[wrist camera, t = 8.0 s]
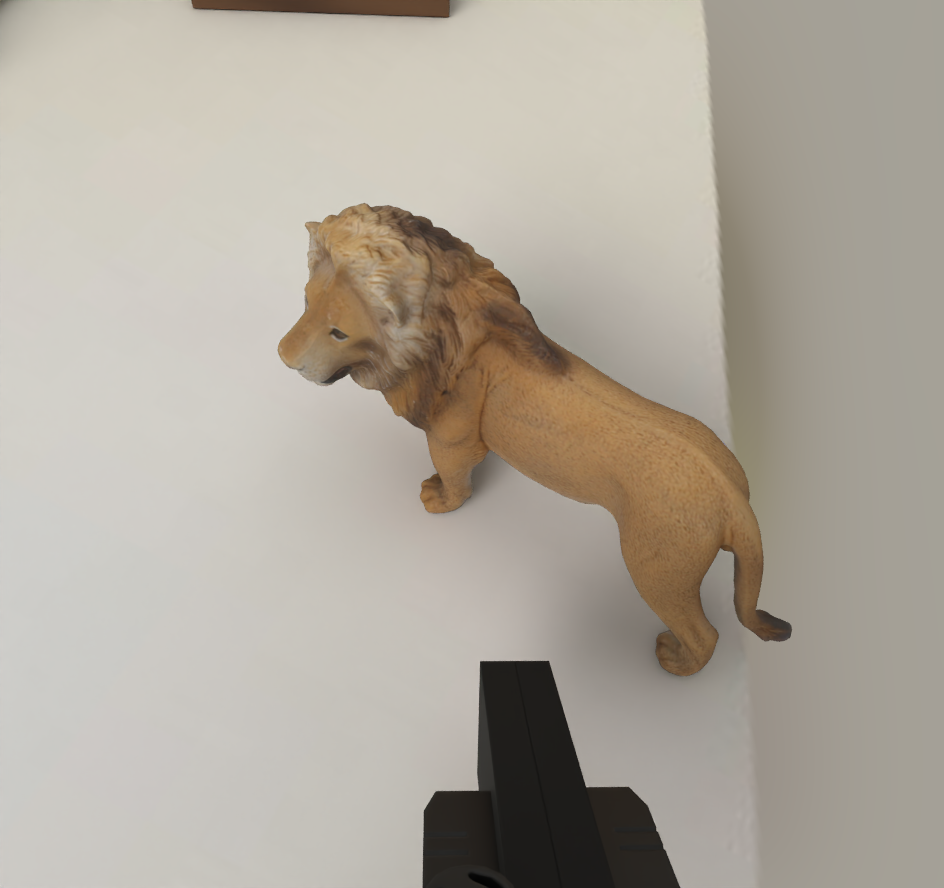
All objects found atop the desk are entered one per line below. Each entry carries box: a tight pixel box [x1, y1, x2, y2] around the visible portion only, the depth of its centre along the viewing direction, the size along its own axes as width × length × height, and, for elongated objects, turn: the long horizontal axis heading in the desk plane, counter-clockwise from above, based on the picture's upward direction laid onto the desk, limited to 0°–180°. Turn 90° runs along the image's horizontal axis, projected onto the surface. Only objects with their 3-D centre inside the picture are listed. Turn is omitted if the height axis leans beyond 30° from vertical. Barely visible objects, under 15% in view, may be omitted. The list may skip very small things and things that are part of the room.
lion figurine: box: [278, 203, 792, 676], centre depth 20 cm, size 15×5×9 cm, turn 62°
